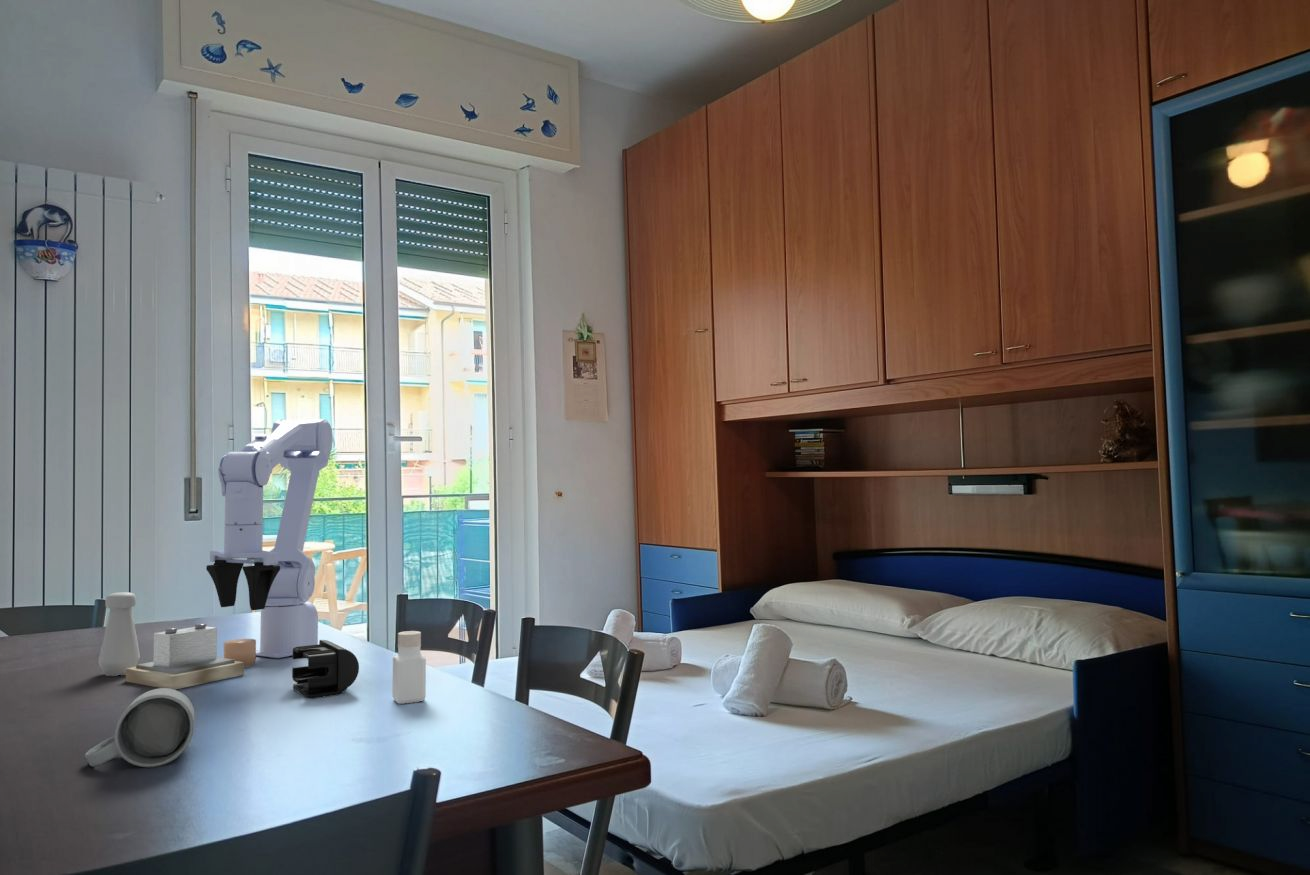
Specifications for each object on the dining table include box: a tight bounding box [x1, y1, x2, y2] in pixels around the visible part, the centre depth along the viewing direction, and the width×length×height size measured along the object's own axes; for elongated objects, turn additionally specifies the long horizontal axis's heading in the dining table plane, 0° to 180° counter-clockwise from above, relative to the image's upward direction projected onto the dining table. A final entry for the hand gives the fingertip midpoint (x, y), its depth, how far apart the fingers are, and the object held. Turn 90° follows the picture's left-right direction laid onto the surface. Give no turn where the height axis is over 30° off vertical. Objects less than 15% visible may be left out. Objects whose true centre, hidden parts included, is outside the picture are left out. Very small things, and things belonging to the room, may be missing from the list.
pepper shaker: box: [392, 630, 427, 705], centre depth 128 cm, size 4×4×10 cm
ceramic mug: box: [84, 687, 196, 768], centre depth 101 cm, size 11×8×8 cm
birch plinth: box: [125, 656, 245, 690], centre depth 143 cm, size 12×12×2 cm
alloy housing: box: [152, 623, 218, 668], centre depth 143 cm, size 8×4×6 cm, turn 151°
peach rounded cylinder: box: [222, 638, 257, 668], centre depth 154 cm, size 5×5×4 cm
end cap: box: [291, 639, 360, 700], centre depth 135 cm, size 10×7×7 cm
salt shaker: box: [97, 591, 141, 677], centre depth 147 cm, size 6×6×13 cm
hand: (242, 608), depth 148 cm, fingers open, 7 cm apart
